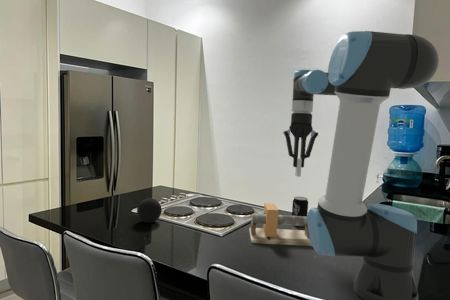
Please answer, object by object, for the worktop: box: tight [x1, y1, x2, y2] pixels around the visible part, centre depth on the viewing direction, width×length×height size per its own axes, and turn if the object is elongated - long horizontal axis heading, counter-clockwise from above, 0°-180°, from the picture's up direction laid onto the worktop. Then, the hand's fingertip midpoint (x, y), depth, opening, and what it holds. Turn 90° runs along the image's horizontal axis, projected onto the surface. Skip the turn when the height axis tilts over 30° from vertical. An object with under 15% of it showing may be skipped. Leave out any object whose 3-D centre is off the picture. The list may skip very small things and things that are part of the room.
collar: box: [262, 202, 279, 237], centre depth 126 cm, size 4×10×10 cm, turn 179°
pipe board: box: [248, 213, 313, 247], centre depth 126 cm, size 23×14×9 cm, turn 89°
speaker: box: [136, 197, 163, 224], centre depth 137 cm, size 10×10×10 cm
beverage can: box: [291, 196, 309, 228], centre depth 144 cm, size 7×7×12 cm
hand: (297, 175), depth 124 cm, fingers closed
